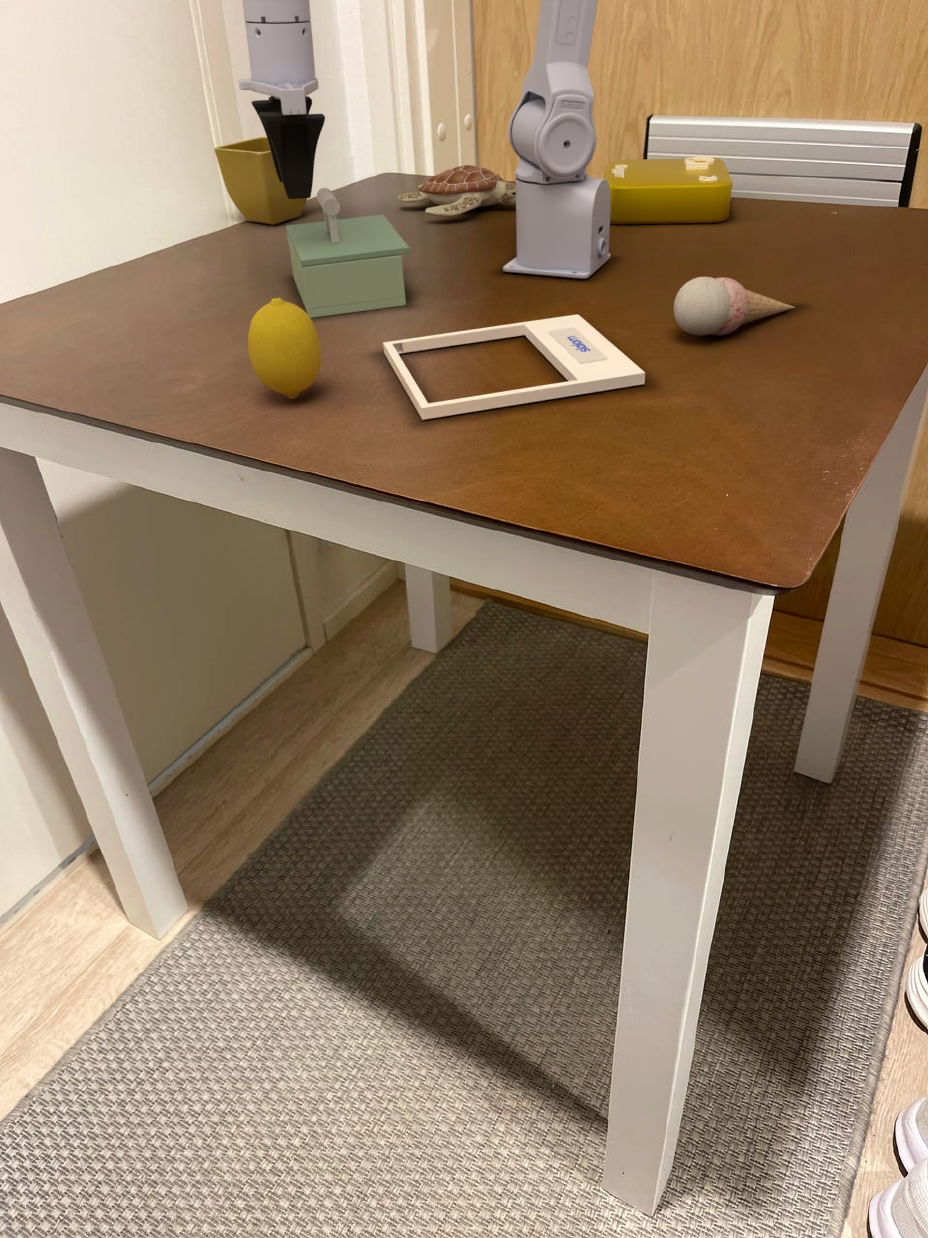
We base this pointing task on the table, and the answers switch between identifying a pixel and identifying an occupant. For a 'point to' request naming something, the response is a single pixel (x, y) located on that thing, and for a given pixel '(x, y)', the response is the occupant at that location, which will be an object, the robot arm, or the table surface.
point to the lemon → (284, 348)
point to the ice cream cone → (720, 306)
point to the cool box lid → (343, 236)
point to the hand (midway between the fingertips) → (294, 189)
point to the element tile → (669, 190)
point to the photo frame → (558, 339)
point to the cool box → (349, 284)
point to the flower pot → (256, 182)
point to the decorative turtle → (463, 191)
